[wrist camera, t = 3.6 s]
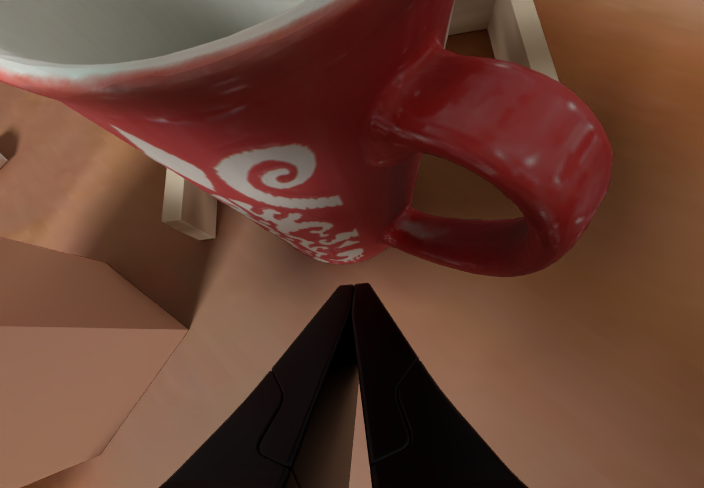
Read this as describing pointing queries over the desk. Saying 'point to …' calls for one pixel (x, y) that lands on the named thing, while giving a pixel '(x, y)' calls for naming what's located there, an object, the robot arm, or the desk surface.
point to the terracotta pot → (70, 358)
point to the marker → (2, 160)
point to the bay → (468, 15)
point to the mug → (324, 118)
